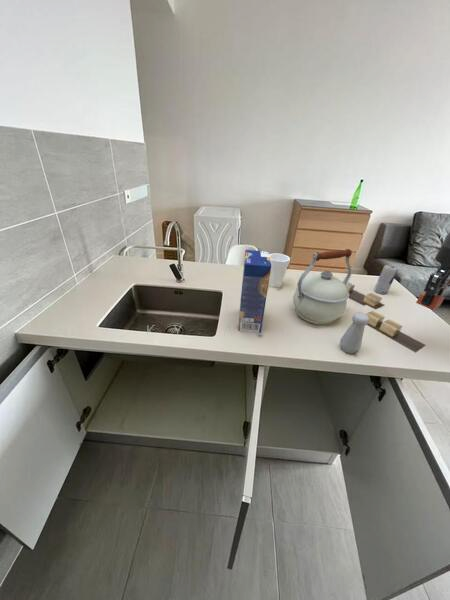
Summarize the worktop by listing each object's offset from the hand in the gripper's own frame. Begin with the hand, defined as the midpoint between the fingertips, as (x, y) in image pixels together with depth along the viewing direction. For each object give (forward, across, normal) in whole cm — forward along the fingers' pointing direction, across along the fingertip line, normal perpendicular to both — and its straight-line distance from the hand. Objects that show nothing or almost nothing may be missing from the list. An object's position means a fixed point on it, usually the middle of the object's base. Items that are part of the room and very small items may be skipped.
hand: (429, 302), depth 72 cm
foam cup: (+16, -11, +52) cm, 55 cm away
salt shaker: (+16, -20, +8) cm, 27 cm away
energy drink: (+16, +28, +24) cm, 40 cm away
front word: (+16, 0, +6) cm, 17 cm away
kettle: (+16, -12, +26) cm, 33 cm away
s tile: (+1, 0, 0) cm, 1 cm away
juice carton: (+16, -39, +34) cm, 54 cm away
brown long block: (+16, +13, +26) cm, 33 cm away
